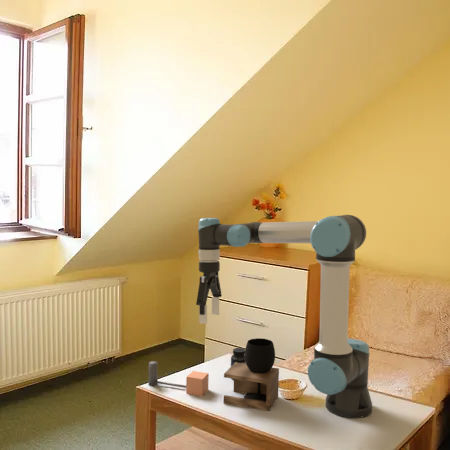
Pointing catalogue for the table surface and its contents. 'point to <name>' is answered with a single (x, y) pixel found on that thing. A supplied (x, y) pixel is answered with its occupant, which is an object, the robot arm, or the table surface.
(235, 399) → the shelf
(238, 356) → the pill bottle
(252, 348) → the black goblet
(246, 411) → the table surface
